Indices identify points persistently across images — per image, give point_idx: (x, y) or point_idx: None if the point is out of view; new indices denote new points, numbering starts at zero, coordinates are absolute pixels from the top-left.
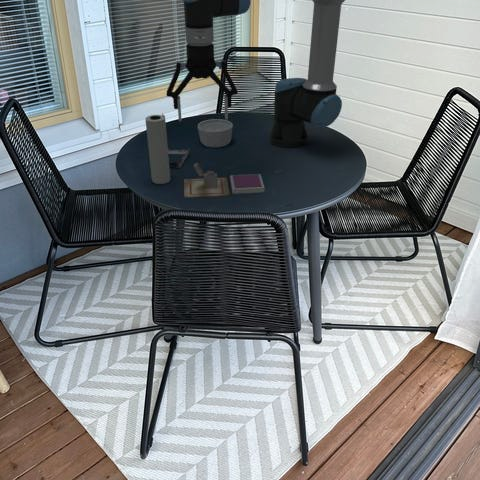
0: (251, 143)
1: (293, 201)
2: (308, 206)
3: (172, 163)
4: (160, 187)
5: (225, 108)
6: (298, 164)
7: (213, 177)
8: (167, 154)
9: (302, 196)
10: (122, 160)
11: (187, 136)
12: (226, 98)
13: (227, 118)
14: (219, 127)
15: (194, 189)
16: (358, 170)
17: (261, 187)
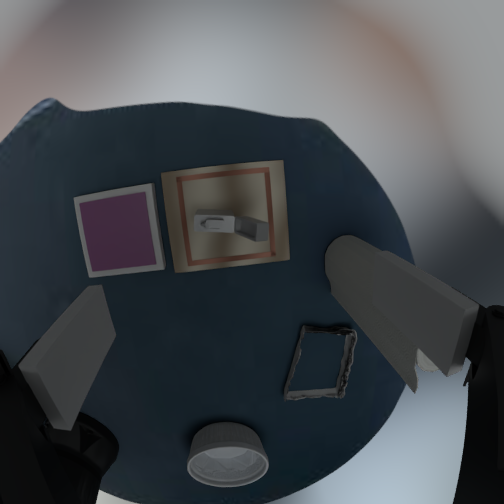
0: (148, 434)
1: (25, 158)
2: (5, 140)
3: (323, 331)
4: (345, 219)
5: (72, 318)
6: (34, 339)
7: (204, 213)
8: (356, 277)
9: (10, 184)
10: None
11: (287, 453)
12: (29, 360)
13: (88, 287)
14: (221, 472)
15: (258, 200)
16: None
17: (80, 198)
